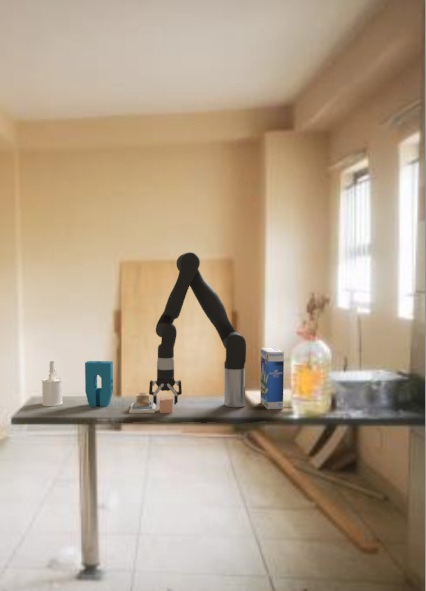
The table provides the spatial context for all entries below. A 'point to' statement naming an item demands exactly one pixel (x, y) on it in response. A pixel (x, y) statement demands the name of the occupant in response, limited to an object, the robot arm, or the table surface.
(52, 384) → the white nozzle bottle
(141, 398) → the maple block
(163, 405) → the terracotta block
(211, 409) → the table surface
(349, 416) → the table surface
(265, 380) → the string lights box
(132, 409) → the blueprint baseplate
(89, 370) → the block
